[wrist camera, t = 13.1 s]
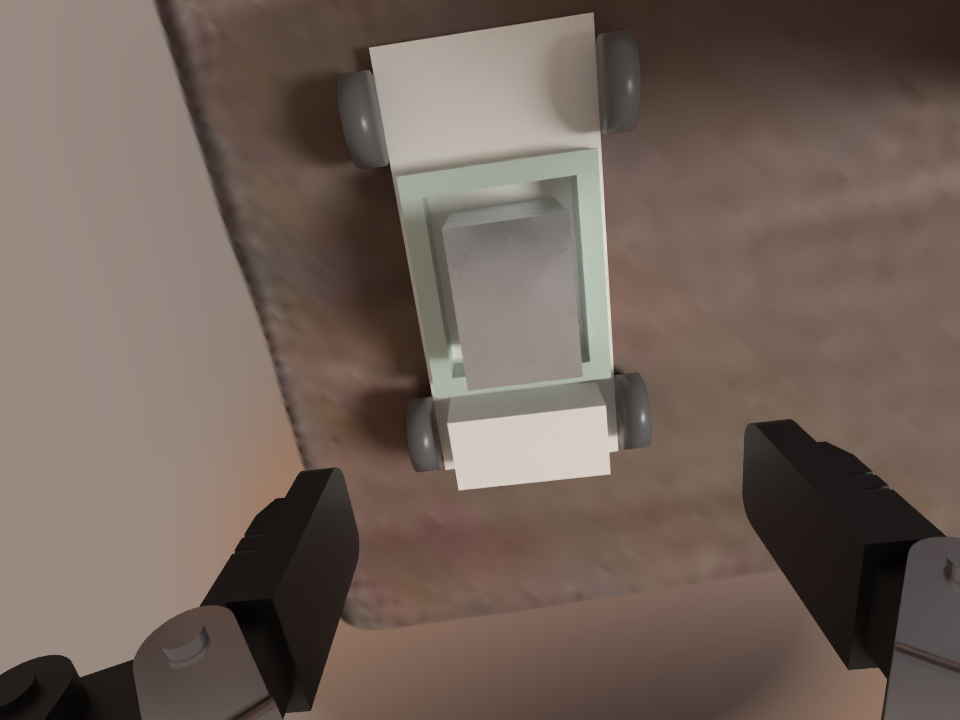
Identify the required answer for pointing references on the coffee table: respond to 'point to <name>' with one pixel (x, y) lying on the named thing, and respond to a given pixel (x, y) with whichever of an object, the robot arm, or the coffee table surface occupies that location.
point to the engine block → (514, 293)
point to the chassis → (492, 181)
